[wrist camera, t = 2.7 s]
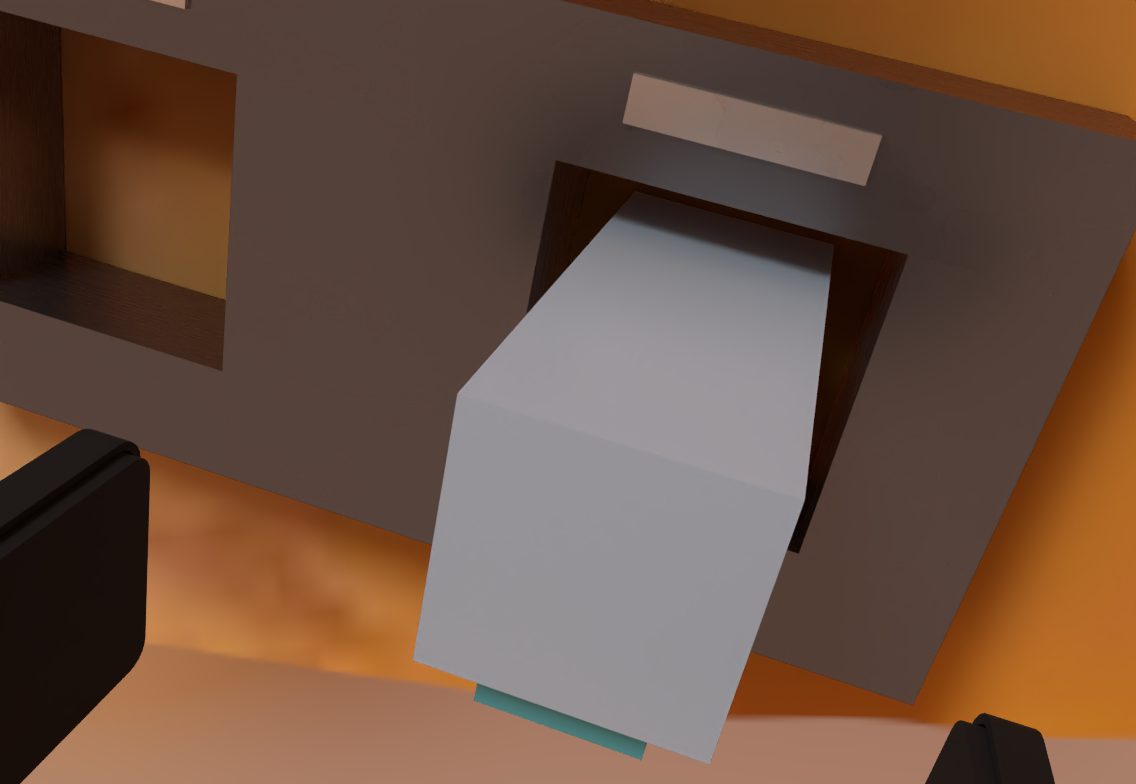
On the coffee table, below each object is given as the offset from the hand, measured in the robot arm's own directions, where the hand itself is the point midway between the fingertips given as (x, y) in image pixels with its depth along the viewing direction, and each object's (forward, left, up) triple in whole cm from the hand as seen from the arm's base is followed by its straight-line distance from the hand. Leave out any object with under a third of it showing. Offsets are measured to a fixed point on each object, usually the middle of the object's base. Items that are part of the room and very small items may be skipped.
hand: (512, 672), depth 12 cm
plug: (0, -1, -11) cm, 11 cm away
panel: (+6, -1, -11) cm, 13 cm away
